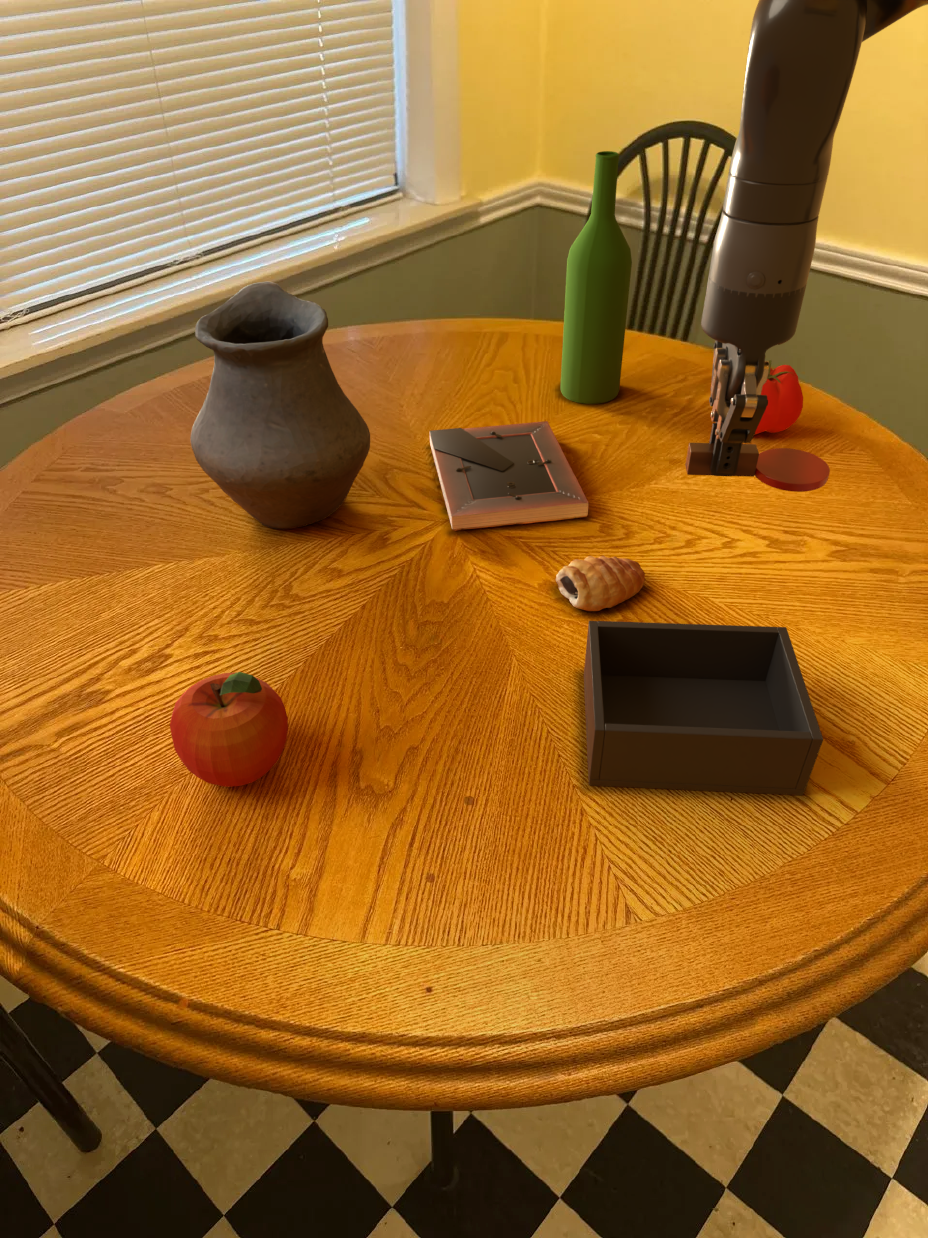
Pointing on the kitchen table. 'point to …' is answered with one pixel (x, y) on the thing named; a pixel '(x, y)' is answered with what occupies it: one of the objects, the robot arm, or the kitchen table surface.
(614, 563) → the pastry
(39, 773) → the kitchen table surface
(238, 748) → the fruit
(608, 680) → the bin
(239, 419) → the grey clay vase
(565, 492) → the picture frame
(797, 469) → the paddle
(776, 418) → the tomato
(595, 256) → the wine bottle
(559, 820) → the kitchen table surface
